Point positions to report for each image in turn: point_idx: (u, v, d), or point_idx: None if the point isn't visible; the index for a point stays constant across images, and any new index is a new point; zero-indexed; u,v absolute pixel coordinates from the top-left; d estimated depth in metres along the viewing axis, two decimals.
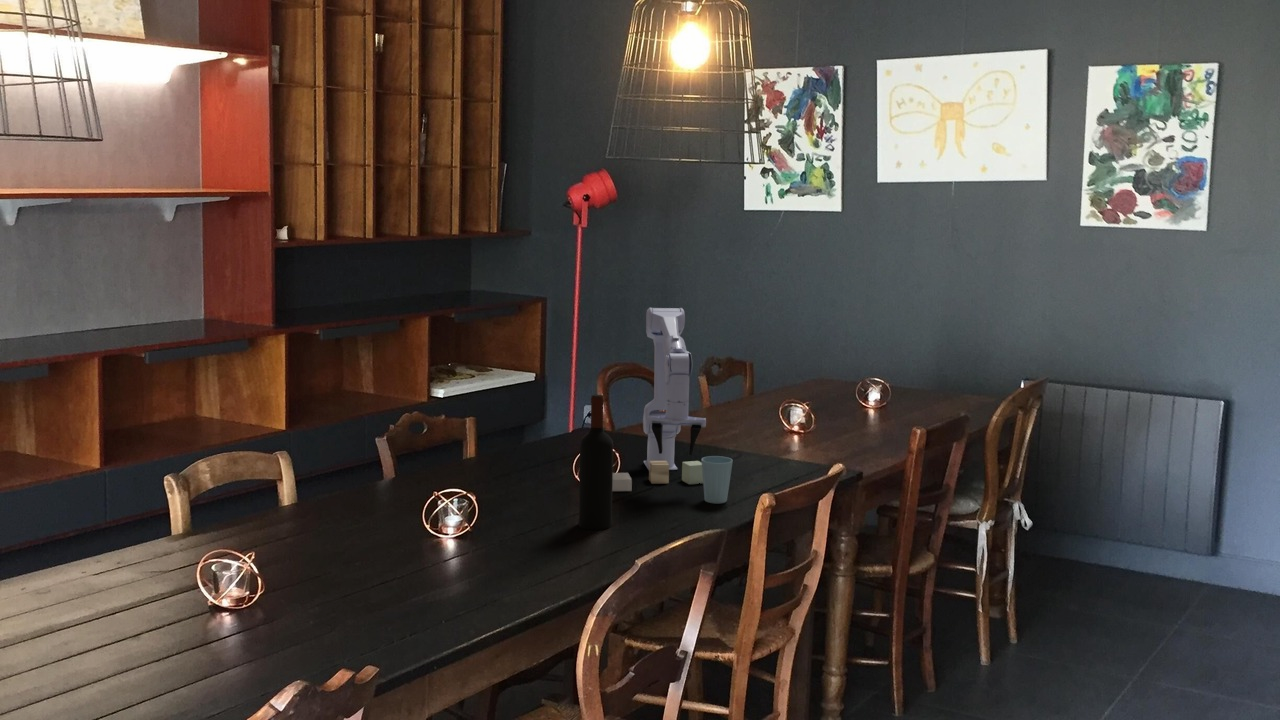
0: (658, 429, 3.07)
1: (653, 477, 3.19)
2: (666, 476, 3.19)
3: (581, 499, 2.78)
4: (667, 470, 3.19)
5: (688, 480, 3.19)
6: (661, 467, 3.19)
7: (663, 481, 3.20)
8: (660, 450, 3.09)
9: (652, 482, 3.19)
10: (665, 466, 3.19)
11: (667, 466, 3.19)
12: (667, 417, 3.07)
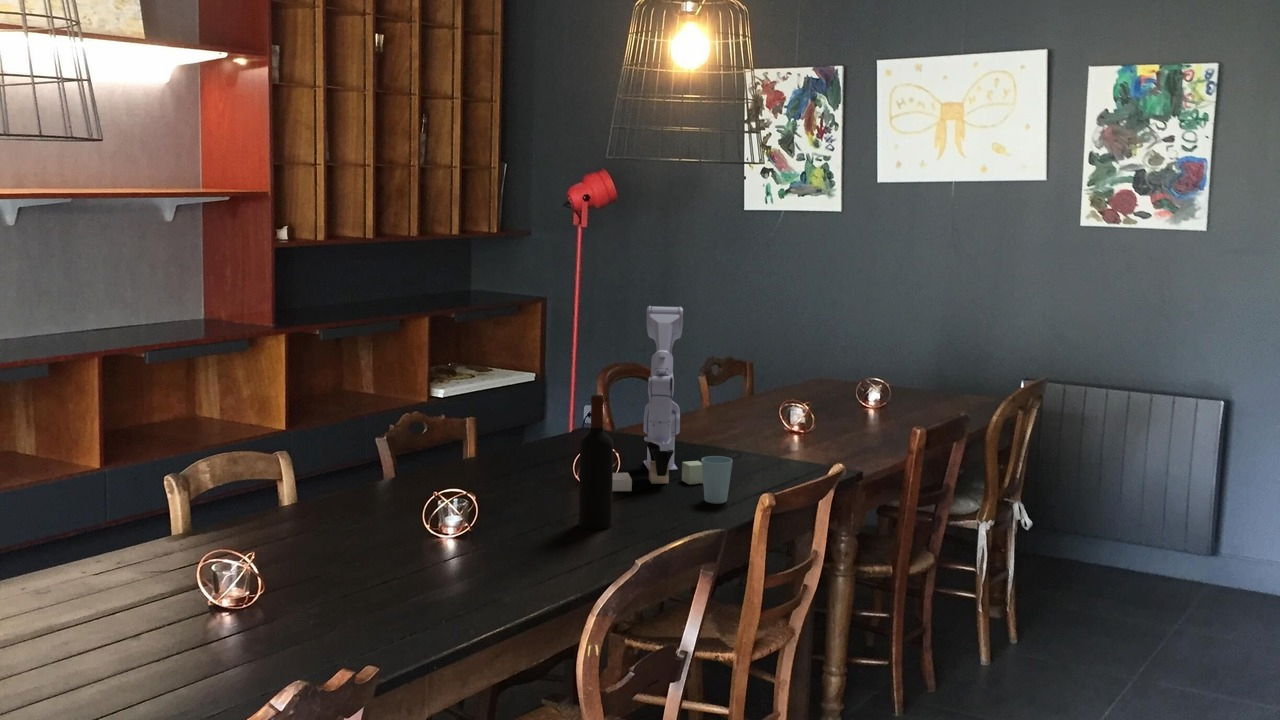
0: None
1: (653, 477, 3.19)
2: (666, 476, 3.19)
3: (581, 499, 2.78)
4: (667, 470, 3.19)
5: (688, 480, 3.19)
6: None
7: (663, 481, 3.20)
8: None
9: (652, 482, 3.19)
10: None
11: None
12: None
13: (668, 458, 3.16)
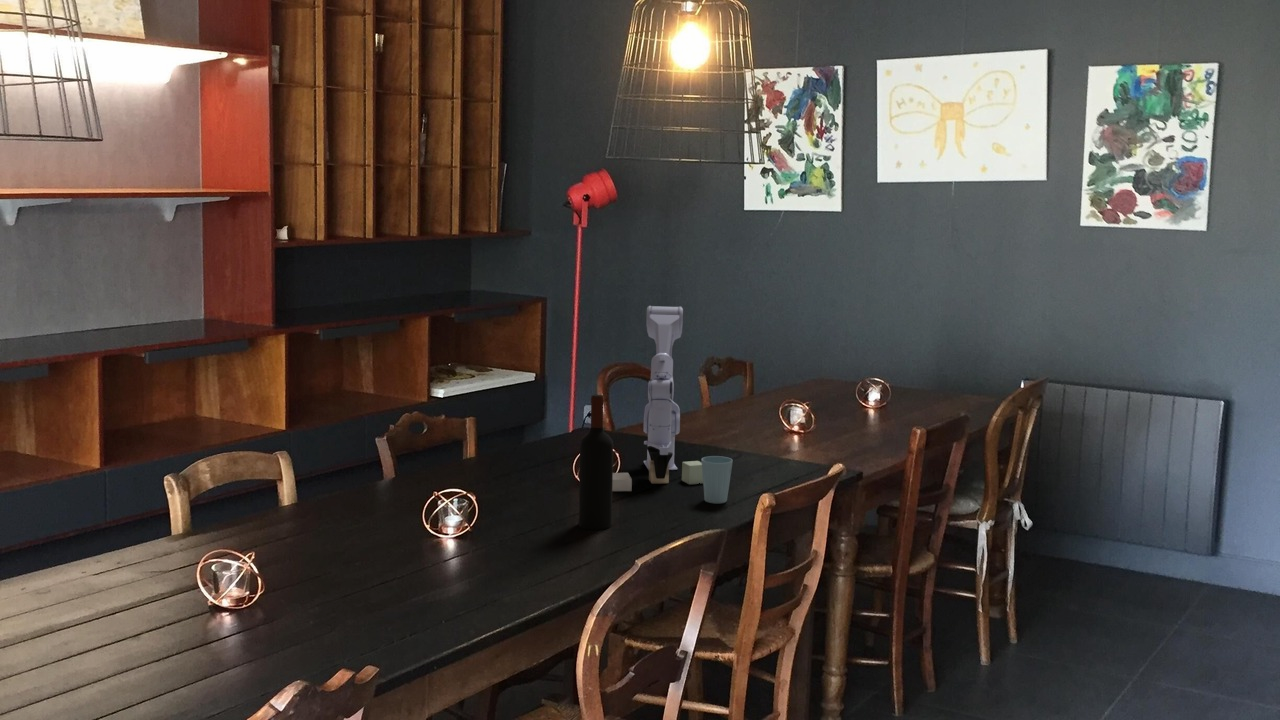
0: (647, 448, 3.23)
1: (653, 477, 3.19)
2: (666, 475, 3.19)
3: (581, 499, 2.78)
4: (667, 470, 3.19)
5: (688, 480, 3.19)
6: None
7: (663, 481, 3.20)
8: None
9: (652, 482, 3.19)
10: None
11: None
12: None
13: (667, 461, 3.17)
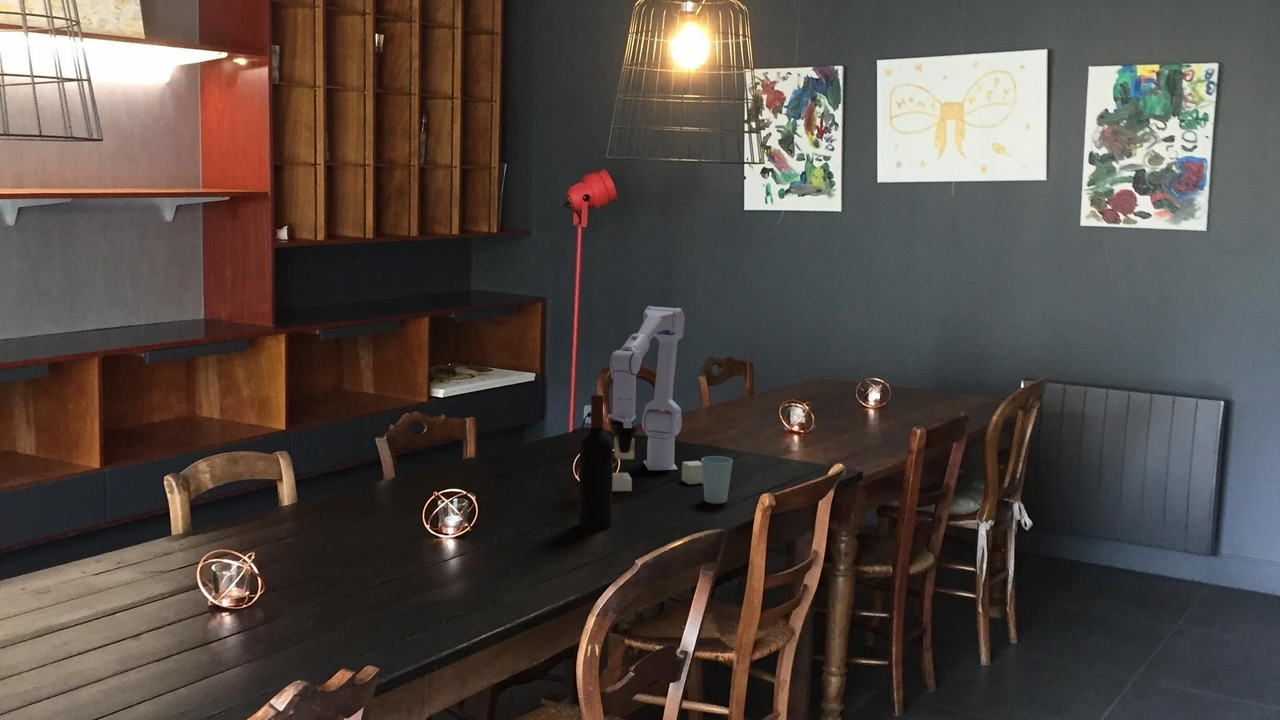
0: (611, 422, 3.15)
1: (618, 452, 3.11)
2: (631, 451, 3.12)
3: (581, 499, 2.78)
4: (632, 445, 3.12)
5: (688, 480, 3.19)
6: None
7: (628, 456, 3.12)
8: None
9: (617, 457, 3.11)
10: None
11: (632, 441, 3.11)
12: None
13: (631, 434, 3.09)
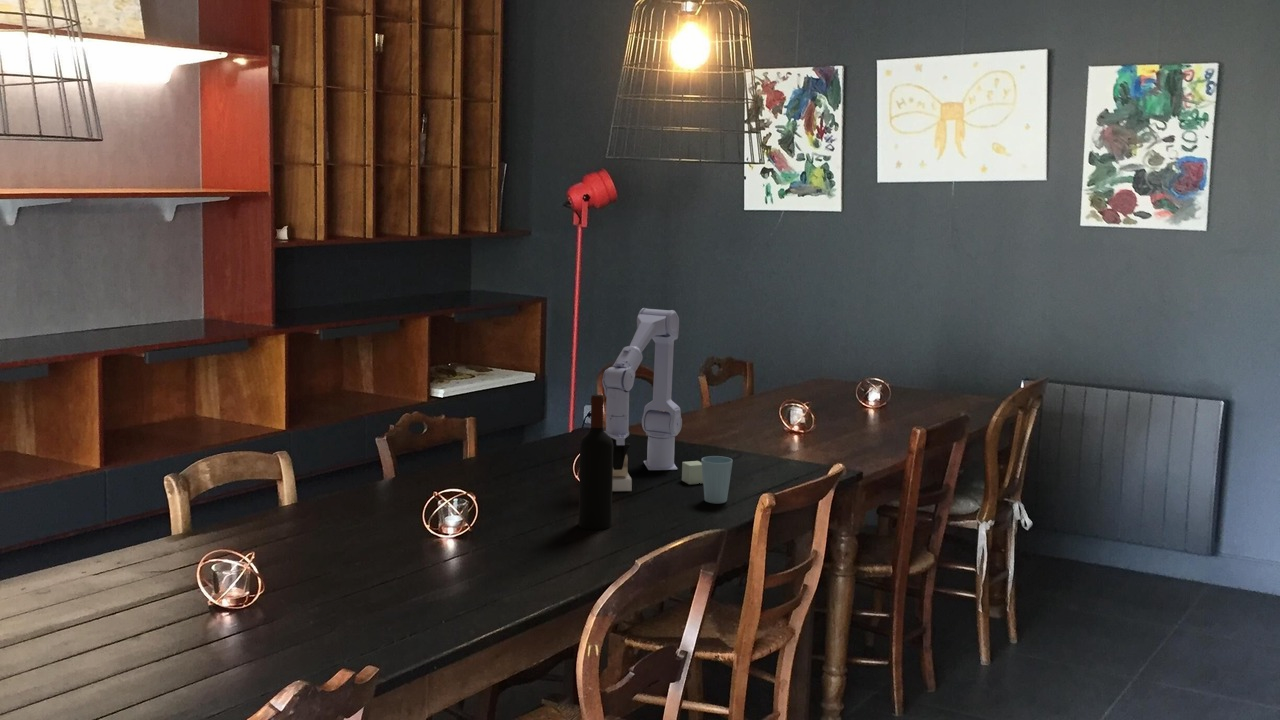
0: None
1: None
2: (624, 468, 3.11)
3: (581, 499, 2.78)
4: (626, 462, 3.11)
5: (688, 480, 3.19)
6: None
7: (622, 473, 3.11)
8: None
9: None
10: None
11: (626, 458, 3.11)
12: None
13: (624, 451, 3.09)
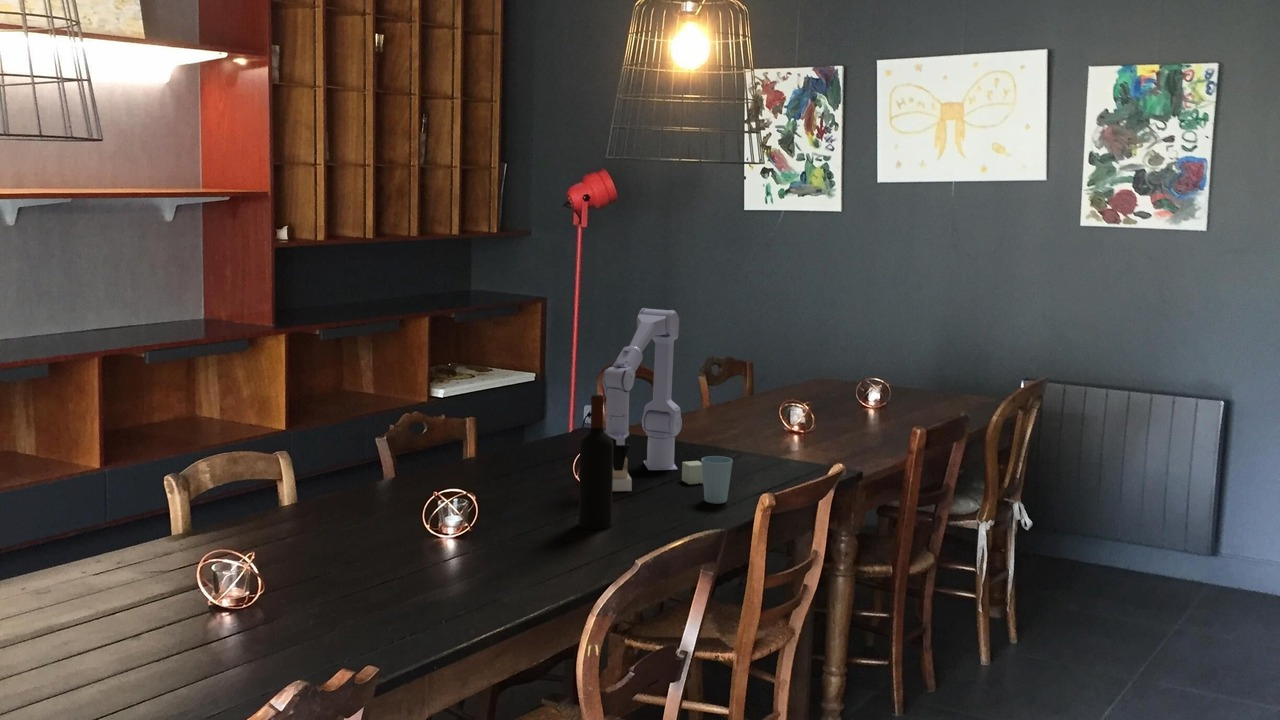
0: None
1: None
2: (624, 470, 3.11)
3: (581, 499, 2.78)
4: (625, 464, 3.11)
5: (688, 480, 3.19)
6: None
7: (621, 476, 3.12)
8: None
9: None
10: None
11: (625, 460, 3.11)
12: None
13: (625, 452, 3.08)
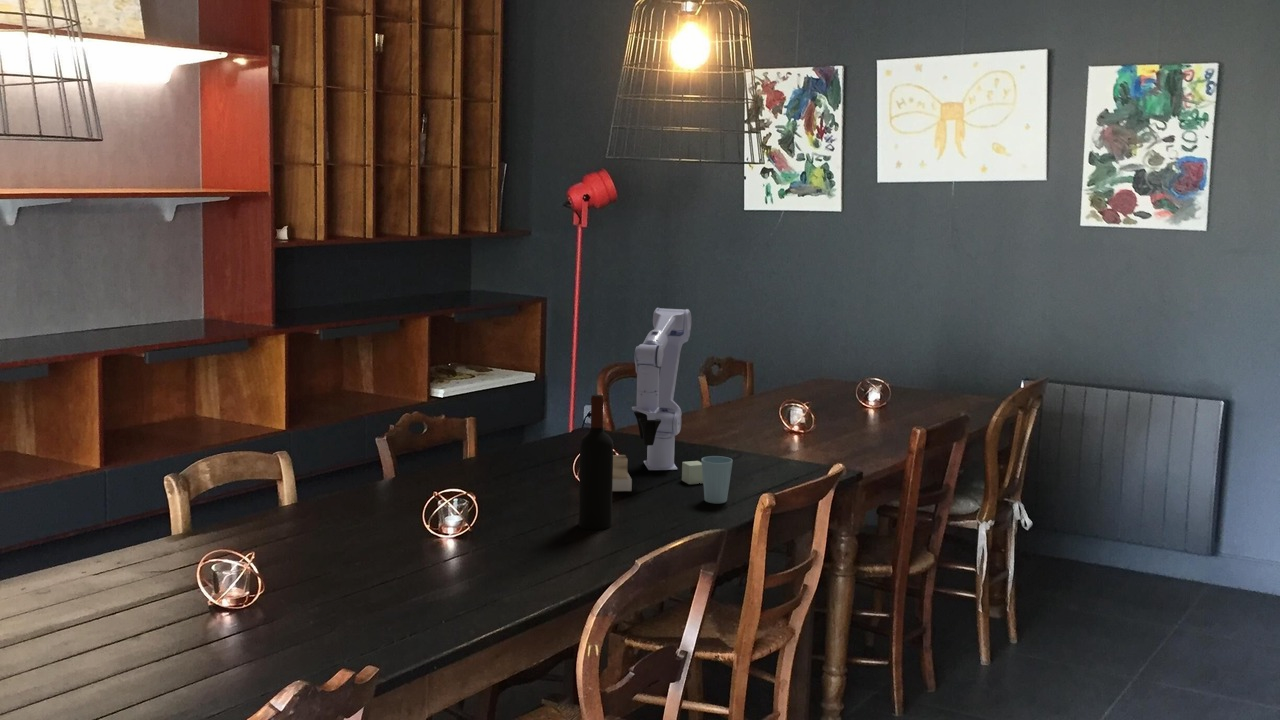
0: (634, 413, 3.23)
1: None
2: (624, 470, 3.11)
3: (581, 499, 2.78)
4: (625, 464, 3.11)
5: (688, 480, 3.19)
6: (619, 461, 3.11)
7: (621, 476, 3.12)
8: None
9: None
10: (623, 460, 3.11)
11: (625, 460, 3.11)
12: None
13: (655, 427, 3.15)
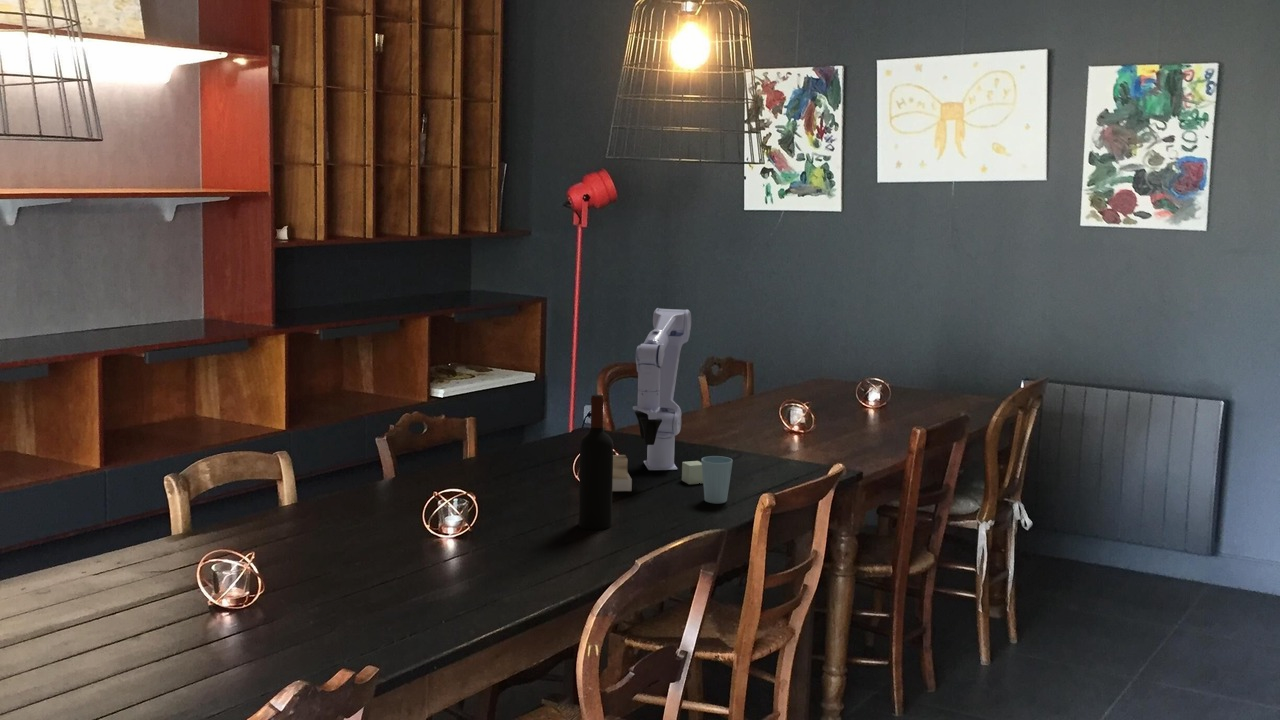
0: (635, 413, 3.23)
1: None
2: (624, 470, 3.11)
3: (581, 499, 2.78)
4: (625, 464, 3.11)
5: (688, 480, 3.19)
6: (619, 461, 3.11)
7: (621, 476, 3.12)
8: None
9: None
10: (623, 460, 3.11)
11: (625, 460, 3.11)
12: None
13: (656, 427, 3.15)
